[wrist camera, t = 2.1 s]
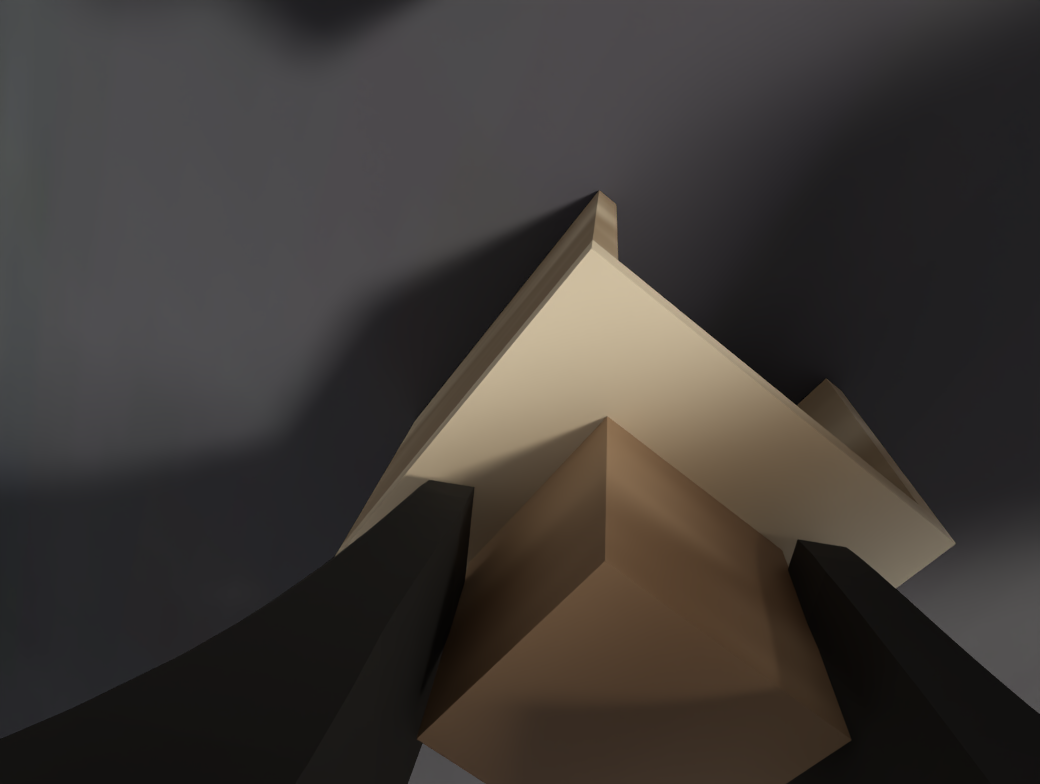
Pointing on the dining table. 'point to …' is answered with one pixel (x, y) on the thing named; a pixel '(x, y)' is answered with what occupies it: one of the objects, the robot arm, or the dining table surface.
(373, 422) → the dining table surface
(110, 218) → the dining table surface
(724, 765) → the cover
